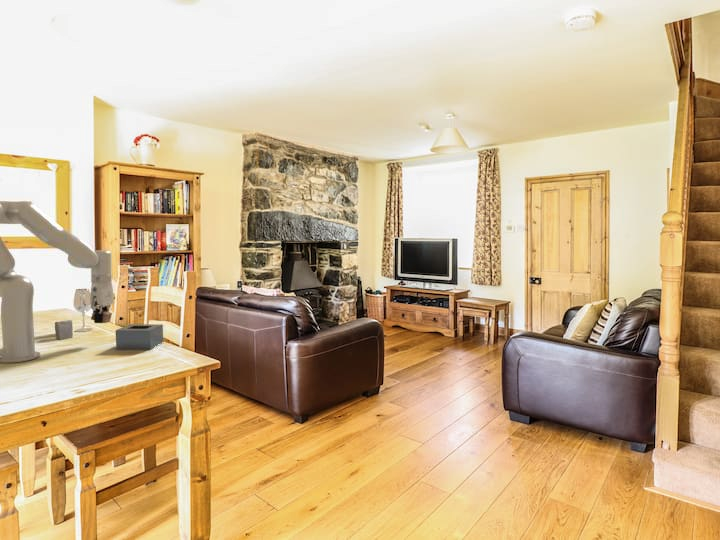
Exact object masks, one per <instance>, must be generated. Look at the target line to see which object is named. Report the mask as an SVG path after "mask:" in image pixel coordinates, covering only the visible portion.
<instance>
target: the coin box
mask: <svg viewBox="0 0 720 540" xmlns="http://www.w3.org/2000/svg"><path fill="white" fill-rule="evenodd" d="M162 342H163V343H164V325H163V324H157V323H156V324H155V323H154V324H150V323H149V324H141V323H140V324H138V323H136V324H133V323H131V324H127V325H126V326H123V327H120V328H118V329H116V330H115V347H116V349H115V350H117V351H118V350H119V351H121V350H123V351H125V350H126V351H127V350H128V351H129V350H130V351H131V350H134V351H143V350H144V351H149V350H150V351H151V350H153V349H155V348H156V347H155V346H157V345H158V344H160V343H162ZM163 343H162V344H163ZM160 345H161V344H160ZM158 346H159V345H158ZM158 346H157V347H158ZM154 347H155V348H154ZM152 348H153V349H152Z"/></svg>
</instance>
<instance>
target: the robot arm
mask: <svg viewBox="0 0 720 540" xmlns="http://www.w3.org/2000/svg"><path fill="white" fill-rule="evenodd" d="M0 224H1V225H2V224H3V225H21V226H22V227H23V228H25V229H26V230H28V231H29V232H30V233H32V234H33V235H34V237H36V238H37V239H39V240H40V241H41V242H43V244H47V245H48V246H50V247H53V248H55V249H58V250H60V251H62V252H63V253H64V254H67V261H68V263H69V264H70V265H71V266H72V267H74V268H76V269H77V268H79V269H90V275H91V276H90V283H91V287H90V294H91V295H90V302H91V309H90V310H92V313H94V320H93V322H94V324H103V323H102V322H103V314H101V313H102V310H104V311H107V312H110V308H111V306H112V305H113V304H114V300H115V299H114V288H113V282H112V281H113V280H112V253H111V251H109V250H106V249H105V250H103V249H102V250H99V249H98V250H97V249H96V250H94V249H92V248H91V246H89V245H88V244H86V243H85V242H84V241H83V240H82V239H80V238H79V237H77V236H76V235H75V234H73V233H71V232H69V231H68V230H67V229H65V228H64V227H62V226H61V225H59V224H58V223H57V222H56V221H55V220H54V219H52V217H50V216H49V215H48V214H46V212H44V211H43V210H42V209H41V208H39V207H38V206H37V205H36V204H34V203H32V202H31V201H26V200H25V201H24V200H23V201H0ZM15 261H16V260H15V258H14V255H13V254H12V253H11V251H10V250H9V248H8V247H7V245H6V244H5V242H4V241H3V239H2V237H1V236H0V298H1V302H0V303H1V304H0V320H1V336H2V337H1V338H2V347H1V348H0V363H1V364H2V363H3V364H5V363H7V364H10V363H11V364H12V363H22V362H28V361H32V360H35V359H37V358H39V357H41V353H40V352H39V351H36V349H35V348H36V347H35V327H34V313H33V312H34V309H33V308H34V307H33V305H34V295H35V293H34V291H35V288H34V285H33V283H32V281H31V280H30V279H29V278H28V277H26V276H23V275H21V274H17V273H16V271H15V269H14V268H15V265H16V262H15ZM93 311H94V312H93Z"/></svg>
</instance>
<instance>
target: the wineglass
mask: <svg viewBox="0 0 720 540" xmlns="http://www.w3.org/2000/svg"><path fill="white" fill-rule="evenodd" d="M90 295H91V290H90V289H89V288H77V289H75V292H74V295H73V308H74V310H75V311H77V312H78V313H81V314H82V327H81V328H78V329H75V330H74V331H75V332H77V333H78V332H79V333H82V332H84V333H85V332H90V331H93V330H94V328H92V327H87V326H86V324H85V323H86V322H85V315H86V313H87V312H89V311H90V310H92V309H91V302H90Z"/></svg>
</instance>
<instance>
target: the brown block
mask: <svg viewBox="0 0 720 540" xmlns="http://www.w3.org/2000/svg"><path fill="white" fill-rule="evenodd" d="M93 312H94V311H93V310H92V314H91V318H90V320H92V321H94V313H93ZM101 314H103V322H102V323H101V324H107V323H110V322H111V319H112V315H113V313H112V312H110V311H109V312H107V311H104V310H102V313H101Z"/></svg>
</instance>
